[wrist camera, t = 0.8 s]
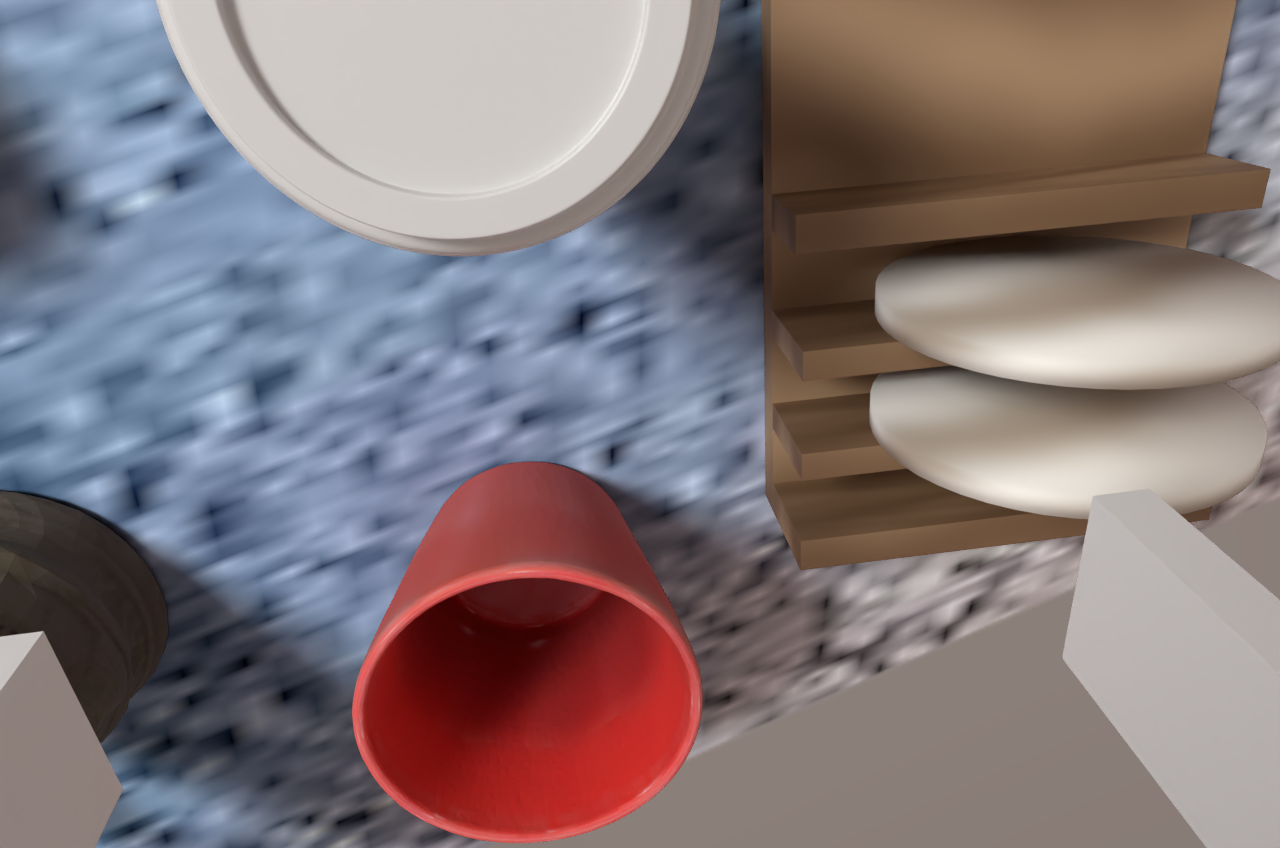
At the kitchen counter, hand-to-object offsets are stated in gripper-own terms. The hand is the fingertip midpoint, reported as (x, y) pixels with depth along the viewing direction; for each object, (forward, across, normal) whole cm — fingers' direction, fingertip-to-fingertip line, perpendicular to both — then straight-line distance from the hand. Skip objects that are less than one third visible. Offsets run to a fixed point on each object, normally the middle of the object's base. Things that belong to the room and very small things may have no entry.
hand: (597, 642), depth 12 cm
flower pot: (+21, -2, -13) cm, 25 cm away
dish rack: (+21, +15, +1) cm, 26 cm away
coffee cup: (+22, -1, +7) cm, 23 cm away
